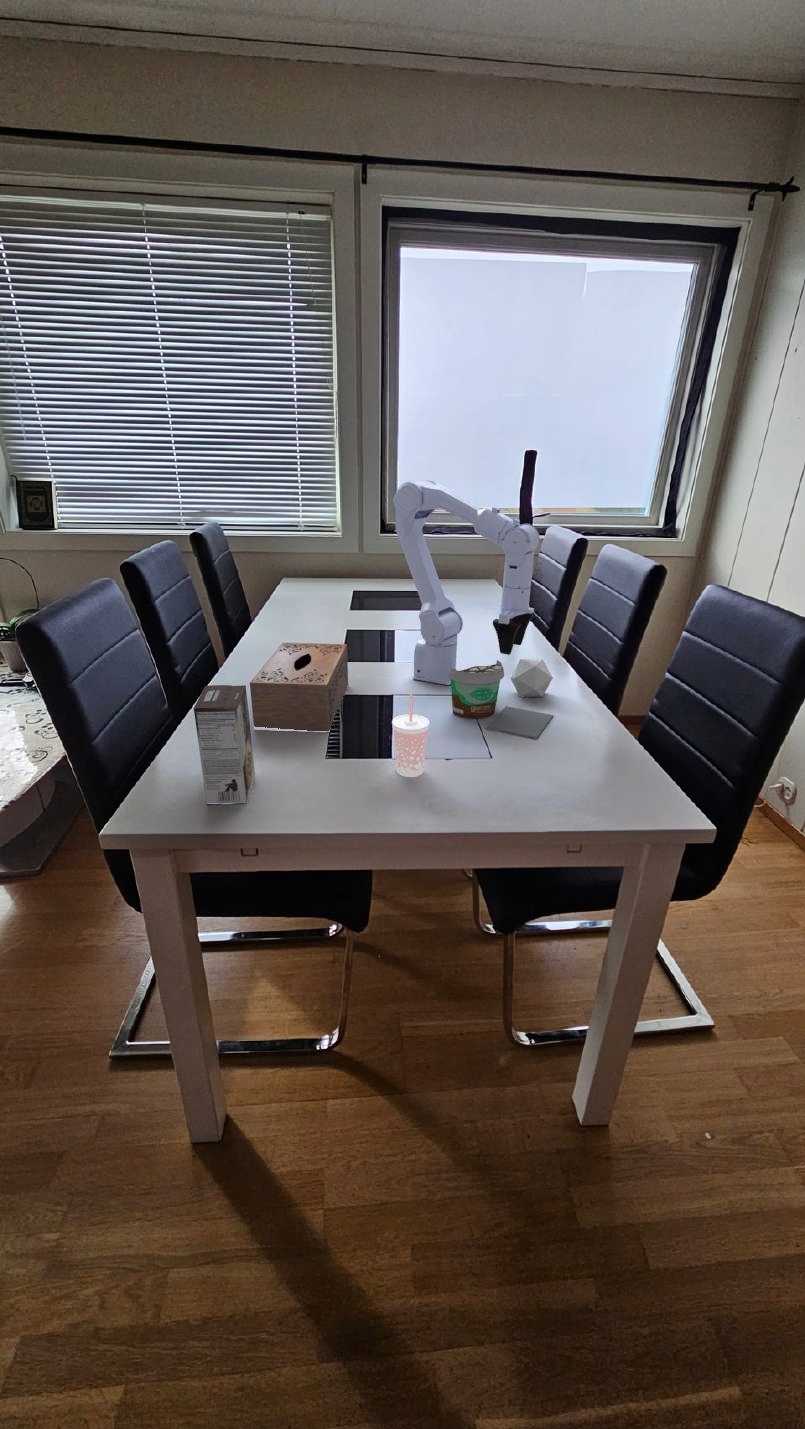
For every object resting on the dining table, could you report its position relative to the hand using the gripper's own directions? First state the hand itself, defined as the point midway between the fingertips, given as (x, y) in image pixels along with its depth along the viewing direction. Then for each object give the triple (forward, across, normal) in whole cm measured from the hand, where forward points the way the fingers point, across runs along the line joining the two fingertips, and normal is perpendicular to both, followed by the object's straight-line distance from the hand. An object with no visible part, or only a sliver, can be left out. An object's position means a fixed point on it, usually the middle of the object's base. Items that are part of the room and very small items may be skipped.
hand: (510, 648), depth 133 cm
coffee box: (+11, -61, +25) cm, 67 cm away
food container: (+10, -14, +1) cm, 18 cm away
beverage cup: (+10, -42, +3) cm, 44 cm away
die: (+10, +2, -5) cm, 12 cm away
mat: (+10, -14, -8) cm, 19 cm away
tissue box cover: (+11, -27, +35) cm, 46 cm away
